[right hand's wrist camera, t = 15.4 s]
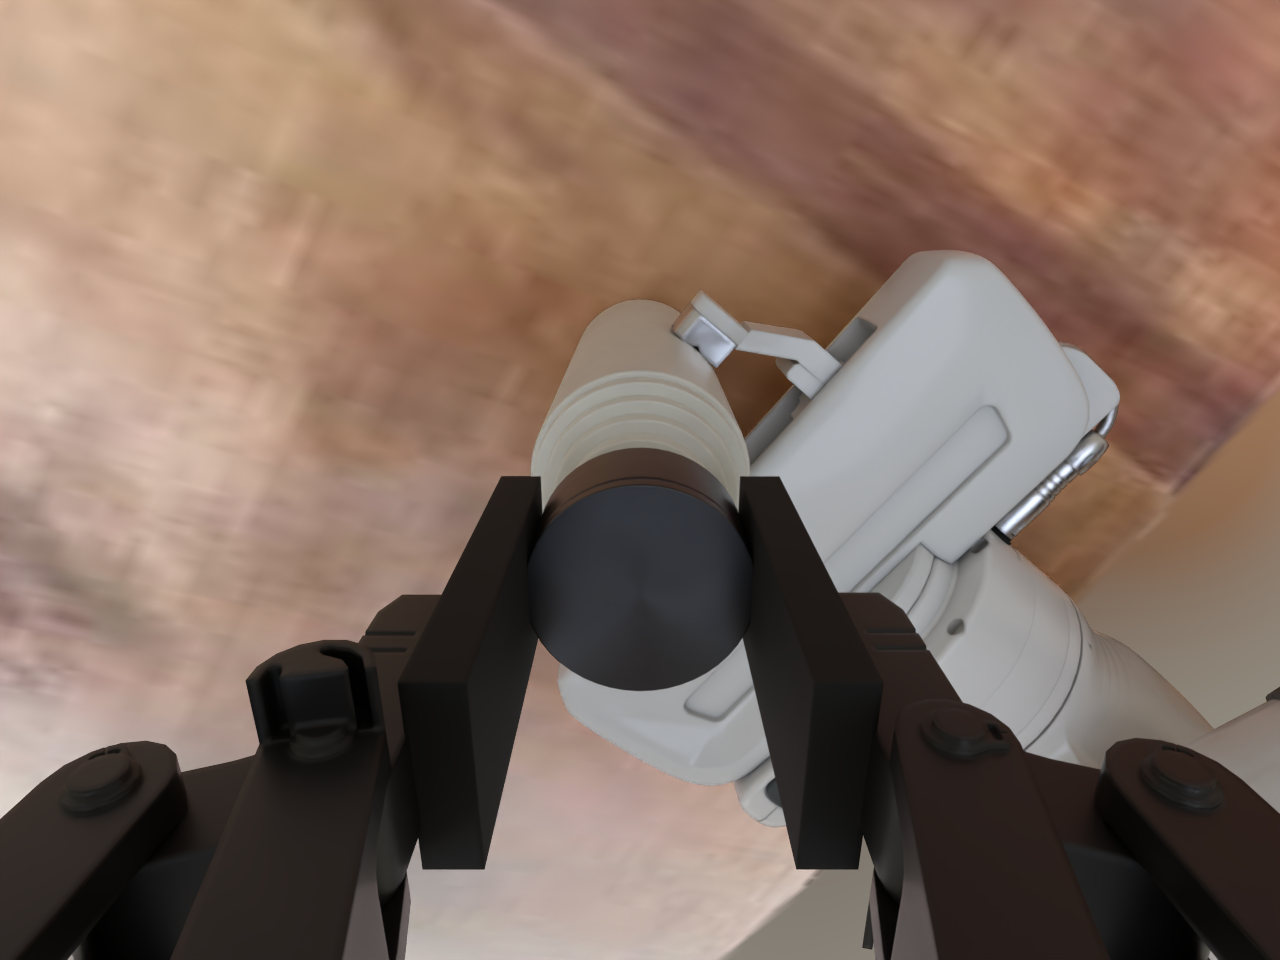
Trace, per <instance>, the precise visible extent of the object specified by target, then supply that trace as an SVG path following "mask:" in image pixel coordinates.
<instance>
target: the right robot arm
mask: <svg viewBox="0 0 1280 960" xmlns="http://www.w3.org/2000/svg"><path fill="white" fill-rule="evenodd" d="M738 513H739V516H740V520H741V523H742V526H743V529H744V532H745V536H746V539H747V542H748V545H749V548H750V552H751V555H752V558H753V561H754V570H753V587H752V603H751V620H750V625H749V627H748V629H747V631H746V633H745V635H744V636H743V642H744V646H745V651H746V655H747V659H748V663H749V668H750V672H751V676H752V681H753V685H754V689H755V693H756V698H757V702H758V706H759V711H760V715H761V719H762V723H763V728H764V732H765V736H766V741H767V745H768V749H769V754H770V758H771V762H772V766H773V771H774V775H775V779H776V784H777V788H778V792H779V796H780V801H781V805H782V809H783V814H784V818H785V822H786V827H787V831H788V835H789V839H790V844H791V848H792V852H793V857H794V861H795V865H796V869H858V867H859V860H860V852H861V845H862V838H863V836H864V839H865V841H866V844H867V847H868V850H869V853H870V856H871V858H872V861H873V864H874V871H873V878H872V885H871V892H870V898H869V905H868V912H867V919H866V926H865V933H864V940H863V948H866V949H872V947H873V942H874V949H875V959H876V960H1210V958H1209V954H1210V951H1211V952H1212V953H1213V954H1214V956H1215V957H1216V958H1217V959H1218V960H1280V813H1279V812H1277V811H1276V810H1275V809H1274V808H1273V807H1272V806H1271V805H1270V804H1269V803H1268V802H1266V801H1265V800H1264V799H1263V798H1262V797H1261V796H1260V795H1259V794H1258V793H1256V792H1255V791H1254V790H1253V789H1252V788H1251V787H1250V786H1249V785H1248V784H1247V783H1245V782H1244V781H1243V780H1242V779H1241V778H1239V777H1238V776H1237V775H1235V774H1234V773H1232V772H1231V771H1230V770H1228V769H1227V768H1226V767H1224V766H1223V765H1221V764H1220V763H1219V762H1217V761H1215V760H1213V759H1211V758H1209V757H1206V756H1204V755H1202V754H1200V753H1198V752H1196V751H1194V750H1192V749H1190V748H1187V747H1184V746H1181V745H1176V744H1174V743H1170V742H1166V741H1163V740H1154V739H1144V738H1132V739H1127V740H1122V741H1117V742H1116V743H1115V744H1113V745H1112V746H1111V747H1110V748H1109V749H1108V750H1107V751H1106V753H1105V757H1104V760H1103V764H1102V768H1101V769H1096V768H1091V767H1087V766H1082V765H1078V764H1073V763H1068V762H1064V761H1059V760H1054V759H1050V758H1046V757H1042V756H1039V755H1035V754H1032V753H1028V752H1026V751H1024V750H1023V748H1022V745H1021V743H1020V742H1019V740H1018V739H1017V737H1016V736H1015V735H1014V733H1013V732H1012V730H1011V729H1010V728H1009V727H1008V726H1007V725H1005V724H1004V723H1003V722H1001V721H1000V720H999V719H997V718H996V717H995V716H993V715H992V714H990V713H988V712H986V711H984V710H981V709H979V708H977V707H975V706H972V705H970V704H967V703H963V702H962V700H961V699H960V697H959V696H958V694H957V692H956V691H955V689H954V688H953V686H952V685H951V683H950V682H949V680H948V678H947V677H946V675H945V674H944V672H943V671H942V669H941V668H940V666H939V664H938V663H937V661H936V660H935V658H934V657H933V655H932V654H931V652H930V651H929V650H927V649H926V644H925V643H924V641H923V640H922V638H921V637H920V635H919V633H916V629H915V627H914V626H913V624H912V623H911V621H910V619H909V618H908V616H907V615H906V613H905V612H904V610H903V609H902V608H900V607H899V606H897V605H896V604H895V603H893V602H892V601H890V600H889V599H887V598H886V597H885V596H883V595H882V594H880V593H879V592H838V591H837V589H836V587H835V585H834V583H833V581H832V579H831V577H830V575H829V573H828V571H827V569H826V567H825V565H824V563H823V562H822V560H821V558H820V556H819V554H818V552H817V550H816V548H815V546H814V544H813V542H812V540H811V538H810V536H809V534H808V532H807V530H806V528H805V526H804V524H803V522H802V520H801V518H800V516H799V514H798V512H797V510H796V508H795V506H794V504H793V502H792V500H791V498H790V496H789V494H788V492H787V490H786V488H785V486H784V484H783V482H782V480H781V478H780V476H740V489H739V509H738ZM542 514H543V511H542V491H541V476H501V478H500V480H499V482H498V484H497V486H496V488H495V490H494V492H493V494H492V496H491V498H490V500H489V502H488V504H487V506H486V508H485V510H484V512H483V514H482V516H481V518H480V520H479V522H478V524H477V526H476V528H475V530H474V532H473V534H472V536H471V538H470V540H469V542H468V544H467V546H466V548H465V550H464V552H463V554H462V555H461V557H460V559H459V561H458V563H457V565H456V567H455V569H454V571H453V573H452V575H451V577H450V579H449V581H448V583H447V585H446V587H445V589H444V591H443V593H442V595H401V596H400V597H399V598H397V599H396V600H394V601H393V602H391V603H390V604H389V605H387V606H386V607H384V608H383V609H382V610H380V611H379V612H378V613H377V615H376V616H375V618H374V619H373V621H372V622H371V624H370V626H369V627H368V629H367V630H366V634H365V636H362V638H361V640H360V641H359V643H355V642H352V641H348V640H322V641H317V642H312V643H306V644H301V645H298V646H295V647H293V648H290V649H288V650H285V651H283V652H280V653H277V654H276V655H274V656H273V657H271V658H269V659H268V660H266V661H265V662H263V663H262V664H260V665H259V666H257V667H256V669H255V670H254V671H253V672H252V673H251V675H250V676H249V677H248V678H247V679H246V685H247V689H248V694H249V698H250V703H251V707H252V712H253V716H254V721H255V725H256V730H257V734H258V739H259V743H260V744H259V747H258V749H257V752H256V754H255V755H253V756H250V757H246V758H243V759H239V760H236V761H232V762H227V763H222V764H218V765H213V766H209V767H204V768H199V769H195V770H190V771H186V772H181V771H180V767H179V763H178V760H177V756H176V754H175V753H174V752H173V751H172V750H171V749H170V748H168V747H167V746H166V745H164V744H159V743H154V742H149V741H140V742H129V743H120V744H117V745H113V746H108V747H106V748H102V749H99V750H96V751H93V752H90V753H88V754H86V755H84V756H82V757H80V758H78V759H76V760H74V761H72V762H70V763H68V764H66V765H64V766H63V767H61V768H60V769H58V770H57V771H56V772H54V773H53V774H52V775H50V776H49V777H47V778H46V779H45V780H43V781H42V782H41V783H39V784H38V785H37V786H36V787H35V788H34V789H33V790H32V791H31V792H30V793H29V794H27V795H26V796H25V797H24V798H23V799H22V800H21V801H20V802H19V803H18V804H16V805H15V806H14V807H13V808H12V809H11V810H10V811H9V812H8V813H7V814H5V815H4V816H3V817H2V818H1V819H0V960H68V958H69V957H70V956H71V955H72V956H73V959H74V960H405V951H406V942H407V932H408V923H409V913H410V904H411V899H410V892H409V885H408V878H407V868H408V865H409V862H410V859H411V856H412V854H413V851H414V848H415V845H416V842H417V839H419V846H420V853H421V861H422V868H423V869H485V865H486V860H487V856H488V852H489V848H490V843H491V839H492V835H493V830H494V826H495V822H496V817H497V813H498V809H499V805H500V800H501V796H502V792H503V787H504V783H505V779H506V775H507V770H508V766H509V762H510V757H511V753H512V749H513V744H514V740H515V736H516V732H517V727H518V723H519V719H520V714H521V710H522V706H523V701H524V697H525V693H526V689H527V684H528V680H529V676H530V671H531V667H532V663H533V659H534V654H535V650H536V646H537V641H538V636H537V634H536V633H535V631H534V629H533V627H532V625H531V620H530V604H529V587H528V570H527V561H528V558H529V555H530V551H531V548H532V545H533V542H534V539H535V536H536V533H537V530H538V526H539V523H540V520H541V517H542Z"/></svg>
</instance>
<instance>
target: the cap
mask: <svg viewBox="0 0 1280 960" xmlns="http://www.w3.org/2000/svg"><path fill="white" fill-rule="evenodd" d="M527 570H528V587H529V604H530V620H531V625H532V627H533V629H534V631H535V633H536V634H537V636H538V638H539V639H540V641H541V643H542V644H543V645H544V646H545V648H546V649H547V650H548V651H549V653H550V654H551V655H552V656H553V657H554V658H556V659H557V660H558V661H559V662H560V663H561V664H562V665H564V666H565V667H566V668H568V669H569V670H570V671H572V672H574V673H575V674H577V675H579V676H581V677H582V678H584V679H587V680H589V681H591V682H594V683H596V684H599V685H603V686H606V687H609V688H614V689H620V690H627V691H655V690H661V689H668V688H671V687H675V686H679V685H682V684H685V683H687V682H690V681H692V680H695V679H697V678H699V677H700V676H702V675H704V674H706V673H708V672H709V671H711V670H712V669H713V668H715V667H716V666H718V665H719V664H720V663H721V662H722V661H723V660H725V659H726V658H727V657H728V656H729V655H730V654H731V652H732V651H733V650H734V649H735V648H736V647H737V645H738V644H739V642H740V641H741V639H742V638H743V636H744V635H745V633H746V631H747V629H748V627H749V625H750V620H751V603H752V587H753V570H754V561H753V558H752V555H751V552H750V548H749V545H748V542H747V539H746V536H745V532H744V529H743V526H742V523H741V520H740V516H739V513H738V510H737V508H736V506H735V504H734V501H733V499H732V498H731V496H730V495H729V493H728V491H727V490H726V488H725V487H724V486H723V485H722V484H721V483H720V481H719V480H718V479H717V478H716V477H715V476H714V475H713V474H711V473H710V472H709V471H708V470H707V469H705V468H704V467H702V466H701V465H699V464H698V463H696V462H695V461H693V460H691V459H689V458H686V457H684V456H682V455H679V454H676V453H673V452H670V451H666V450H661V449H656V448H626V449H620V450H615V451H611V452H608V453H605V454H602V455H599V456H597V457H595V458H593V459H590V460H588V461H587V462H585V463H583V464H582V465H580V466H579V467H577V468H576V469H575V470H573V471H572V472H571V473H570V474H568V475H567V476H566V477H565V478H564V479H563V480H562V482H561V483H560V484H559V485H558V486H557V487H556V489H555V490H554V492H553V493H552V495H551V496H550V498H549V500H548V502H547V504H546V506H545V508H544V511H543V514H542V517H541V520H540V523H539V526H538V530H537V533H536V536H535V539H534V542H533V545H532V548H531V551H530V555H529V558H528V561H527Z"/></svg>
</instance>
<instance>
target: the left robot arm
mask: <svg viewBox="0 0 1280 960" xmlns="http://www.w3.org/2000/svg"><path fill="white" fill-rule="evenodd" d="M672 327H673V328H672V330H673V331H674V332H675V334H677V335H678V336H679V337H680V338H681V339H682V340H683V341H684V342H686V343H688V344H689V345H691V346H697V347H698V350H699V352H700V354H701V355H702V356H703V357H704V358H705V359H706V360H707V361H708V362H709V363H711V364H712V365H713V366H714V367H716V368H717V367H718V366H719V365H720V364H721V363H722V361H723V360H724V359H725V358H726V357H727V356H728V355H729V354H730V353H731V351H732V350H733V349H734V348H735V350H740V351H746V352H752V353H757V354H763V355H768V356H774V357H777V358H776V359H775V365H776V366H777V367H778V368H779V369H780V370H781V372H782V373H783V374H784V375H785V376H786V377H787V378H788V379H789V380H790V381H791V382H792V383H793V385H792V386H791V387H790V388H789V389H788V390H787V391H786V392H785V394H784V395H783V396H782V397H781V398H780V399H779V400H778V401H777V402H776V404H775V405H774V406H773V407H772V408H771V409H770V410H769V411H768V412H767V413H766V415H765V416H764V417H763V418H762V419H761V420H760V421H759V422H758V423H757V425H756V426H755V427H754V428H753V429H752V430H751V431H750V432H749V433H748V434H747V436H746V437H745V438H744V440H745V443H746V446H747V451H748V455H749V461H750V476H780V478H781V480H782V482H783V484H784V486H785V488H786V490H787V492H788V494H789V496H790V498H791V500H792V502H793V504H794V506H795V508H796V510H797V512H798V514H799V516H800V518H801V520H802V522H803V524H804V526H805V528H806V530H807V532H808V534H809V536H810V538H811V540H812V542H813V544H814V546H815V548H816V550H817V552H818V554H819V556H820V558H821V560H822V562H823V563H824V565H825V567H826V569H827V571H828V573H829V575H830V577H831V579H832V581H833V583H834V585H835V587H836V589H837V591H838V592H879V593H880V594H882V595H883V596H885V597H886V598H887V599H889V600H890V601H892V602H893V603H895V604H896V605H897V606H899V607H900V608H902V609H903V610H904V612H905V613H906V615H907V616H908V618H909V619H910V621H911V623H912V624H913V626H914V627H915V629H916V633H919V635H920V637H921V638H922V640H923V641H924V643H925V644H926V649H927V650H929V651H930V652H931V654H932V655H933V657H934V658H935V660H936V661H937V663H938V664H939V666H940V668H941V669H942V671H943V672H944V674H945V675H946V677H947V678H948V680H949V682H950V683H951V685H952V686H953V688H954V689H955V691H956V692H957V694H958V696H959V697H960V699H961V700H962V702H963V703H967V704H970V705H972V706H975V707H977V708H979V709H981V710H984V711H986V712H988V713H990V714H992V715H993V716H995V717H996V718H997V719H999V720H1000V721H1001V722H1003V723H1004V724H1005V725H1007V726H1008V727H1009V728H1010V729H1011V730H1012V732H1013V733H1014V735H1015V736H1016V737H1017V739H1018V740H1019V742H1020V743H1021V745H1022V748H1023V750H1024V751H1026V752H1028V753H1032V754H1035V755H1039V756H1042V757H1046V758H1050V759H1054V760H1059V761H1064V762H1068V763H1073V764H1078V765H1082V766H1087V767H1091V768H1096V769H1101V768H1102V764H1103V760H1104V757H1105V753H1106V751H1107V750H1108V749H1109V748H1110V747H1111V746H1112V745H1113V744H1115V743H1116V742H1117V741H1122V740H1127V739H1132V738H1144V739H1154V740H1163V741H1166V742H1170V743H1174V744H1176V745H1181V746H1184V747H1187V748H1190V749H1192V750H1194V751H1196V752H1198V753H1200V754H1202V755H1204V756H1206V757H1209V758H1211V759H1213V760H1215V761H1217V762H1219V763H1220V764H1221V765H1223V766H1224V767H1226V768H1227V769H1228V770H1230V771H1231V772H1232V773H1234V774H1235V775H1237V776H1238V777H1239V778H1241V779H1242V780H1243V781H1244V782H1245V783H1247V784H1248V785H1249V786H1250V787H1251V788H1252V789H1253V790H1254V791H1255V792H1256V793H1258V794H1259V795H1260V796H1261V797H1262V798H1263V799H1264V800H1265V801H1266V802H1268V803H1269V804H1270V805H1271V806H1272V807H1273V808H1274V809H1275V810H1276V811H1277V812H1279V813H1280V687H1279V688H1277V689H1276V690H1274V691H1273V692H1271V693H1270V694H1268V695H1267V696H1266V700H1267V702H1266V703H1264V704H1262V705H1260V706H1258V707H1256V708H1254V709H1252V710H1250V711H1248V712H1246V713H1245V714H1243V715H1241V716H1239V717H1237V718H1235V719H1233V720H1231V721H1229V722H1227V723H1225V724H1224V725H1222V726H1220V727H1218V728H1216V729H1213V728H1212V727H1211V725H1210V724H1209V723H1208V722H1207V721H1206V720H1205V719H1204V718H1203V717H1202V715H1201V714H1200V713H1199V712H1198V711H1197V710H1196V709H1195V708H1194V707H1193V706H1192V705H1191V704H1190V703H1189V702H1188V701H1187V700H1186V699H1185V698H1184V697H1183V696H1182V695H1181V694H1180V693H1179V692H1178V691H1177V690H1176V689H1175V688H1174V687H1173V686H1172V685H1171V684H1170V683H1169V682H1168V681H1167V680H1166V679H1164V678H1163V677H1162V676H1161V675H1160V674H1159V673H1158V672H1157V671H1156V670H1155V669H1154V668H1153V667H1151V666H1150V665H1149V664H1148V663H1147V662H1146V661H1145V660H1143V659H1142V658H1141V657H1140V656H1139V655H1138V654H1136V653H1135V652H1134V651H1132V650H1131V649H1130V648H1129V647H1127V646H1125V645H1124V644H1122V643H1121V642H1119V641H1117V640H1115V639H1113V638H1111V637H1109V636H1107V635H1104V634H1102V633H1099V632H1096V631H1094V630H1092V629H1091V628H1090V627H1089V625H1088V623H1087V621H1086V619H1085V617H1084V615H1083V614H1082V612H1081V611H1080V609H1079V608H1078V606H1077V605H1076V604H1075V602H1074V601H1073V600H1072V599H1071V598H1070V597H1069V596H1068V595H1067V594H1066V593H1065V592H1064V591H1063V590H1062V589H1061V588H1060V587H1059V586H1058V585H1057V584H1055V583H1054V582H1053V581H1052V580H1051V579H1050V578H1049V577H1047V576H1046V575H1045V574H1044V573H1043V572H1042V571H1040V570H1039V569H1038V568H1037V567H1036V566H1035V565H1033V564H1032V563H1031V562H1030V561H1029V560H1028V559H1027V558H1025V557H1024V556H1023V555H1022V554H1021V553H1020V552H1018V551H1017V550H1016V549H1015V548H1014V547H1012V546H1011V543H1010V541H1011V540H1012V539H1013V538H1014V537H1015V536H1017V535H1018V534H1019V533H1020V532H1021V531H1022V530H1023V529H1024V528H1025V527H1026V526H1028V525H1029V524H1030V523H1031V522H1032V521H1033V520H1034V519H1035V518H1036V517H1037V516H1038V515H1040V514H1041V513H1042V512H1043V511H1044V510H1045V508H1046V507H1047V506H1048V505H1049V504H1050V503H1049V502H1052V501H1053V500H1054V498H1055V495H1056V496H1057V495H1058V494H1059V493H1060V492H1061V489H1063V488H1065V487H1066V486H1067V483H1070V482H1071V481H1072V480H1073V479H1074V478H1075V477H1077V476H1078V475H1082V474H1083V473H1085V472H1086V471H1087V470H1089V469H1090V468H1091V467H1092V466H1093V465H1094V464H1095V463H1096V462H1097V461H1098V460H1099V459H1100V458H1101V456H1102V455H1103V454H1104V453H1105V451H1106V450H1107V448H1108V447H1109V444H1108V442H1107V441H1106V440H1105V439H1104V438H1105V437H1106V435H1107V434H1108V432H1109V431H1110V429H1111V428H1112V426H1113V424H1114V421H1115V419H1116V416H1117V412H1118V405H1119V401H1120V393H1119V390H1118V388H1117V386H1116V384H1115V383H1114V382H1113V380H1112V379H1111V377H1110V376H1109V375H1108V374H1107V373H1106V372H1105V371H1104V370H1103V369H1102V368H1101V367H1100V366H1099V365H1098V364H1097V363H1096V362H1095V361H1094V360H1093V359H1092V358H1091V357H1090V356H1089V355H1088V354H1087V353H1086V352H1085V351H1084V350H1082V349H1081V348H1079V347H1078V346H1076V345H1074V344H1071V343H1068V342H1063V341H1057V340H1056V339H1055V337H1054V336H1053V334H1052V333H1051V332H1050V330H1049V329H1048V327H1047V326H1046V325H1045V323H1044V322H1043V321H1042V319H1041V318H1040V317H1039V315H1038V314H1037V313H1036V312H1035V310H1034V309H1033V308H1032V307H1031V305H1030V304H1029V303H1028V302H1027V300H1026V299H1025V298H1024V297H1023V295H1022V294H1021V293H1020V292H1019V291H1018V290H1017V288H1016V287H1015V286H1014V285H1013V284H1012V283H1011V282H1010V281H1009V279H1008V278H1007V277H1006V276H1005V275H1004V274H1003V273H1002V272H1001V271H1000V270H999V269H998V268H997V267H996V266H995V265H994V264H993V263H991V262H990V261H989V260H987V259H985V258H983V257H981V256H979V255H976V254H973V253H970V252H966V251H959V250H932V251H920V252H917V253H914V254H912V255H911V256H909V257H908V258H907V259H906V260H905V261H904V262H903V263H902V264H901V266H900V267H899V268H898V269H897V270H896V271H895V272H894V273H893V274H892V275H891V277H890V278H889V279H888V280H887V281H886V282H885V283H884V284H883V285H882V287H881V288H880V289H879V290H878V291H877V292H876V293H875V294H874V295H873V296H872V298H871V299H870V300H869V301H868V302H867V303H866V304H865V305H864V306H863V308H862V309H861V310H860V311H859V312H858V313H857V314H856V315H855V316H854V317H853V319H852V320H851V321H850V322H849V323H848V324H847V325H846V326H845V327H844V328H843V330H842V331H841V332H840V333H839V334H838V335H837V336H836V337H835V338H834V340H833V341H832V342H831V343H830V344H829V345H828V346H827V347H826V348H825V349H823V348H822V347H821V346H820V345H819V344H818V343H816V342H815V341H814V340H813V339H812V338H810V337H809V336H808V335H806V334H805V333H804V332H803V331H801V330H799V329H792V328H786V327H780V326H774V325H767V324H761V323H755V322H749V321H743V322H742V323H740V322H739V321H737V320H736V319H735V318H734V317H733V316H732V315H730V314H729V313H728V312H727V311H726V310H725V309H723V308H722V307H721V306H720V305H719V304H718V303H716V302H715V301H714V300H713V299H712V298H711V297H709V296H708V295H707V294H706V293H704V292H703V291H702V290H699V292H698V293H697V294H696V295H695V297H694V298H693V299H692V300H691V302H690V303H689V304H688V305H687V306H686V308H685V309H684V310H683V311H682V313H681V314H680V315H679V316H678V318H677V319H676V320H675V321H674V323H673V324H672ZM1097 424H1098V425H1097ZM1096 425H1097V426H1096ZM1094 426H1096V428H1095V429H1094V430H1092V428H1093V427H1094ZM557 682H558V687H559V690H560V694H561V697H562V699H563V702H564V705H565V707H566V709H567V710H568V712H569V713H570V714H571V715H572V716H573V717H574V718H575V719H576V720H578V721H579V722H580V723H582V724H583V725H584V726H586V727H587V728H589V729H590V730H592V731H593V732H595V733H596V734H598V735H599V736H601V737H603V738H604V739H606V740H607V741H609V742H610V743H612V744H614V745H615V746H617V747H619V748H620V749H622V750H624V751H625V752H627V753H629V754H631V755H632V756H634V757H636V758H638V759H640V760H641V761H643V762H645V763H647V764H649V765H651V766H653V767H654V768H656V769H658V770H660V771H662V772H664V773H666V774H668V775H670V776H673V777H675V778H677V779H680V780H683V781H686V782H689V783H693V784H697V785H706V786H715V785H723V784H727V783H730V782H733V783H734V786H735V790H736V793H737V796H738V799H739V802H740V805H741V807H742V809H743V810H744V811H745V812H746V813H747V814H748V815H749V816H750V817H752V818H753V819H755V820H756V821H758V822H759V823H761V824H763V825H766V826H769V827H782V826H786V822H785V818H784V814H783V809H782V805H781V801H780V796H779V792H778V788H777V784H776V779H775V775H774V771H773V766H772V762H771V758H770V754H769V749H768V745H767V741H766V736H765V732H764V728H763V723H762V719H761V715H760V711H759V706H758V702H757V698H756V693H755V689H754V685H753V681H752V676H751V672H750V668H749V663H748V659H747V655H746V651H745V646H744V642H743V638H742V639H741V641H740V642H739V644H738V645H737V647H736V648H735V649H734V650H733V651H732V652H731V654H730V655H729V656H728V657H727V658H726V659H725V660H723V661H722V662H721V663H720V664H719V665H718V666H716V667H715V668H713V669H712V670H711V671H709V672H708V673H706V674H704V675H702V676H700V677H699V678H697V679H695V680H692V681H690V682H687V683H685V684H682V685H679V686H675V687H671V688H668V689H661V690H655V691H627V690H620V689H614V688H609V687H606V686H603V685H599V684H596V683H594V682H591V681H589V680H587V679H584V678H582V677H581V676H579V675H577V674H575V673H574V672H572V671H570V670H569V669H568V668H566V667H565V666H564V665H562V664H561V663H560V662H559V669H558V676H557ZM1209 958H1210V960H1218V959H1217V958H1216V957H1215V956H1214V954H1213V953H1212V952H1211V951H1210V954H1209ZM68 960H74V959H73V956H72V955H71V956H70V957H69V958H68Z"/></svg>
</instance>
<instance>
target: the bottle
mask: <svg viewBox="0 0 1280 960" xmlns="http://www.w3.org/2000/svg"><path fill="white" fill-rule="evenodd" d="M680 314H681V313H680V312H678V311H677V310H675V309H674V308H672V307H670V306H668V305H666V304H663V303H660V302H657V301H652V300H645V299H636V300H628V301H624V302H620V303H618V304H615V305H613V306H611V307H609V308H607V309H606V310H604V311H603V312H601V313H600V314H599V315H597V316H596V317H595V318H594V319H593V320H592V321H591V323H590V324H589V325H588V327H587V328H586V329H585V331H584V333H583V335H582V337H581V339H580V341H579V344H578V346H577V348H576V350H575V353H574V355H573V357H572V359H571V362H570V364H569V366H568V369H567V371H566V373H565V375H564V378H563V380H562V382H561V384H560V387H559V389H558V391H557V394H556V396H555V398H554V400H553V403H552V405H551V407H550V409H549V412H548V414H547V416H546V418H545V421H544V423H543V425H542V428H541V430H540V432H539V435H538V437H537V440H536V442H535V446H534V450H533V454H532V460H531V476H541V491H542V511H544V508H545V506H546V504H547V502H548V500H549V498H550V496H551V495H552V493H553V492H554V490H555V489H556V487H557V486H558V485H559V484H560V483H561V482H562V480H563V479H564V478H565V477H566V476H567V475H568V474H570V473H571V472H572V471H573V470H575V469H576V468H577V467H579V466H580V465H582V464H583V463H585V462H587V461H588V460H590V459H593V458H595V457H597V456H599V455H602V454H605V453H608V452H611V451H615V450H620V449H626V448H656V449H661V450H666V451H670V452H673V453H676V454H679V455H682V456H684V457H686V458H689V459H691V460H693V461H695V462H696V463H698V464H699V465H701V466H702V467H704V468H705V469H707V470H708V471H709V472H710V473H711V474H713V475H714V476H715V477H716V478H717V479H718V480H719V481H720V483H721V484H722V485H723V486H724V487H725V488H726V490H727V491H728V493H729V495H730V496H731V498H732V499H733V501H734V504H735V506H736V508H737V510H738V509H739V489H740V476H750V461H749V455H748V451H747V446H746V443H745V440H744V438H743V435H742V432H741V430H740V428H739V426H738V423H737V421H736V419H735V416H734V414H733V412H732V410H731V407H730V405H729V403H728V401H727V398H726V396H725V394H724V392H723V389H722V387H721V385H720V382H719V380H718V378H717V376H716V373H715V371H714V369H713V367H712V364H711V363H709V362H708V361H707V360H706V359H705V358H704V357H703V356H702V355H701V354H700V352H699V350H698V347H697V346H691V345H689V344H688V343H686V342H684V341H683V340H682V339H681V338H680V337H679V336H678V335H677V334H675V332H674V331H673V330H672V328H673V327H672V324H673V323H674V321H675V320H676V319H677V318H678V316H679V315H680Z"/></svg>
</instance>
